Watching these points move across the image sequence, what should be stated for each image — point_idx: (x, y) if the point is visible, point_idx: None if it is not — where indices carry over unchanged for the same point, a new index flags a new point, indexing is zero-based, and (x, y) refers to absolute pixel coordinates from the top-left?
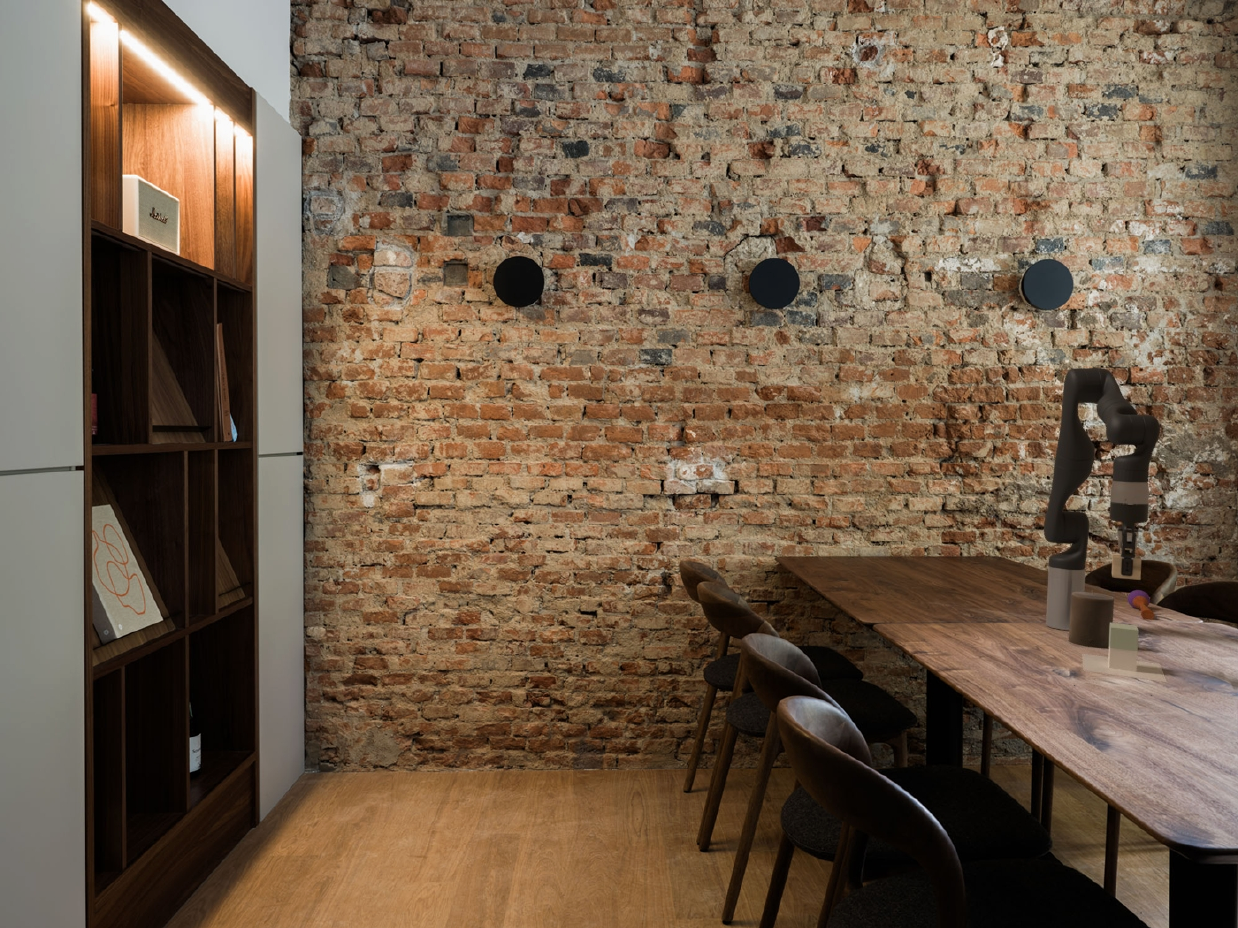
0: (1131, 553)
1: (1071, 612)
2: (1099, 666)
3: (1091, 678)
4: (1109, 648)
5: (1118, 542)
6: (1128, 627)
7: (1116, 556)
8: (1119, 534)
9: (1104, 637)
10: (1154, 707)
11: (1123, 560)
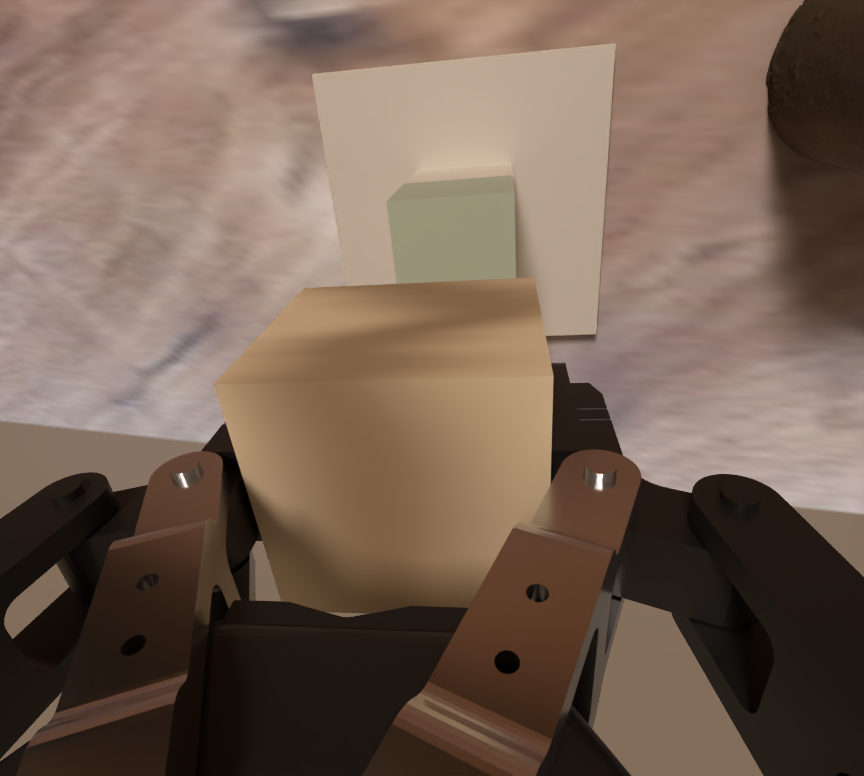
0: (72, 591)
1: None
2: (419, 133)
3: (299, 109)
4: (444, 178)
5: (487, 574)
6: (442, 280)
7: (276, 414)
8: (42, 768)
9: (813, 139)
10: (121, 298)
11: (222, 459)
